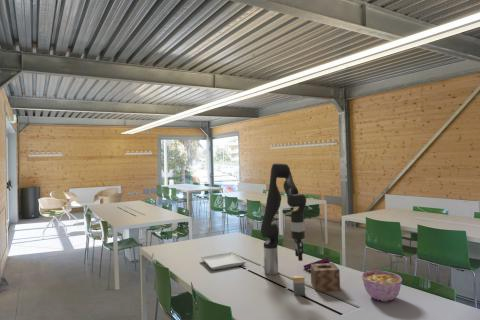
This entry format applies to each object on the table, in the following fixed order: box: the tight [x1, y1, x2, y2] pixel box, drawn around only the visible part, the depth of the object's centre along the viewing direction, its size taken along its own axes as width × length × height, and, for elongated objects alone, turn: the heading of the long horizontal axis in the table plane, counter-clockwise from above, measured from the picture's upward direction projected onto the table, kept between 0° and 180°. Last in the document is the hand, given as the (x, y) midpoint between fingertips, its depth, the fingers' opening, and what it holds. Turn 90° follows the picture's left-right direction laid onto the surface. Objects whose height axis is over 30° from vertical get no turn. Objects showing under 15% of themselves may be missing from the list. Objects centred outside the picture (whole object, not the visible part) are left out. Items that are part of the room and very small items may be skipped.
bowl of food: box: [361, 270, 403, 302], centre depth 179 cm, size 20×20×12 cm
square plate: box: [199, 252, 247, 271], centre depth 248 cm, size 27×27×4 cm
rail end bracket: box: [292, 275, 306, 297], centre depth 188 cm, size 6×3×10 cm, turn 90°
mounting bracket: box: [303, 257, 331, 269], centre depth 225 cm, size 10×8×18 cm
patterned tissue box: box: [310, 262, 341, 292], centre depth 197 cm, size 14×12×12 cm
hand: (298, 258), depth 188 cm, fingers open, 8 cm apart
